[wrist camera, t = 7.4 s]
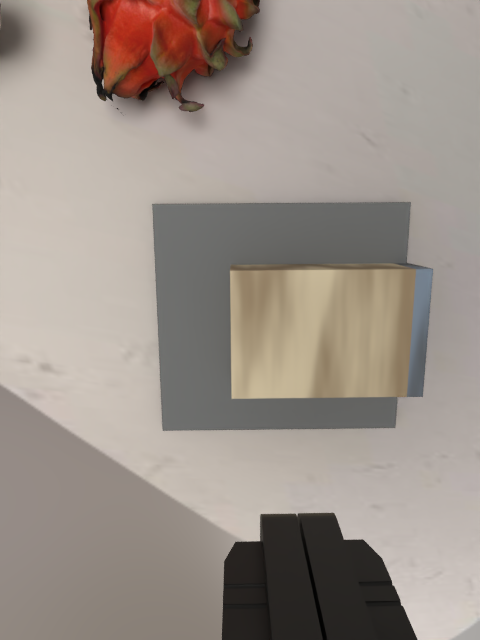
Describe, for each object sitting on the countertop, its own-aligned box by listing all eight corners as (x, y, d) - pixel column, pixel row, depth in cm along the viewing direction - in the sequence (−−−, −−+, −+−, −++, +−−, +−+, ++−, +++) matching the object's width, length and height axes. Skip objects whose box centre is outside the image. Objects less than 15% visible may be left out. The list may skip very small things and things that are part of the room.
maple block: (230, 264, 31) (407, 263, 31) (231, 377, 32) (399, 375, 32) (230, 270, 27) (432, 269, 27) (231, 398, 28) (422, 396, 29)
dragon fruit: (266, -23, 29) (140, 117, 32) (173, -177, 23) (30, 13, 27) (325, 5, 23) (164, 170, 27) (221, -190, 18) (32, 53, 21)
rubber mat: (407, 202, 31) (410, 202, 30) (392, 424, 34) (395, 427, 33) (153, 204, 30) (152, 204, 30) (163, 426, 34) (162, 430, 33)
